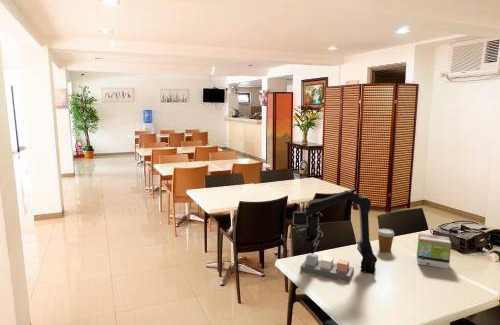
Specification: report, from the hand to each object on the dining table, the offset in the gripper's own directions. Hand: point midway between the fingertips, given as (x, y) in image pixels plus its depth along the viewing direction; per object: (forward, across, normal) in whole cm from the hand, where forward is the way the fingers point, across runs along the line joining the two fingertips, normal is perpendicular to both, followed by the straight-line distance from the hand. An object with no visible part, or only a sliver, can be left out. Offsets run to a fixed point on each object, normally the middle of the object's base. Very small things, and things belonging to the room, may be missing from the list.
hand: (312, 253), depth 183 cm
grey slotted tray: (+9, 0, +8) cm, 12 cm away
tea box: (+9, -35, +57) cm, 68 cm away
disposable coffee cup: (+9, -43, +32) cm, 55 cm away
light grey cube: (+6, 0, 0) cm, 6 cm away
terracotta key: (+6, 0, +16) cm, 17 cm away
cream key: (+6, 0, +8) cm, 10 cm away
